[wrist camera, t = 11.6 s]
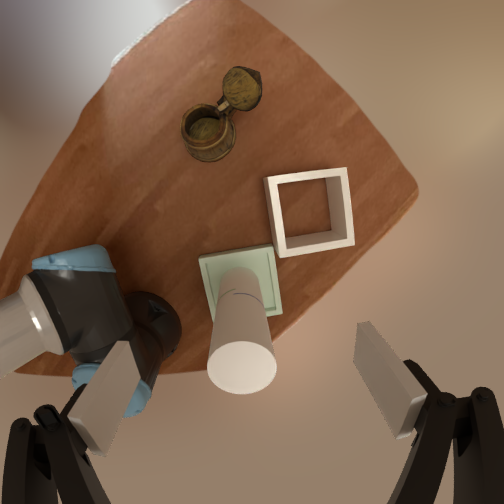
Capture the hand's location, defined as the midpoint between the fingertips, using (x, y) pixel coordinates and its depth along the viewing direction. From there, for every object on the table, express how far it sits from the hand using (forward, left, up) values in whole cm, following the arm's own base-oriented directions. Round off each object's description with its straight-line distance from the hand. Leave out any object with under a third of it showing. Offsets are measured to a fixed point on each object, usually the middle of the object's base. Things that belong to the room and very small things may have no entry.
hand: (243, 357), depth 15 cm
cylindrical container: (-1, -9, -36) cm, 37 cm away
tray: (-1, -9, -37) cm, 38 cm away
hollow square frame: (+12, +3, -37) cm, 39 cm away
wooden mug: (0, +19, -37) cm, 41 cm away
